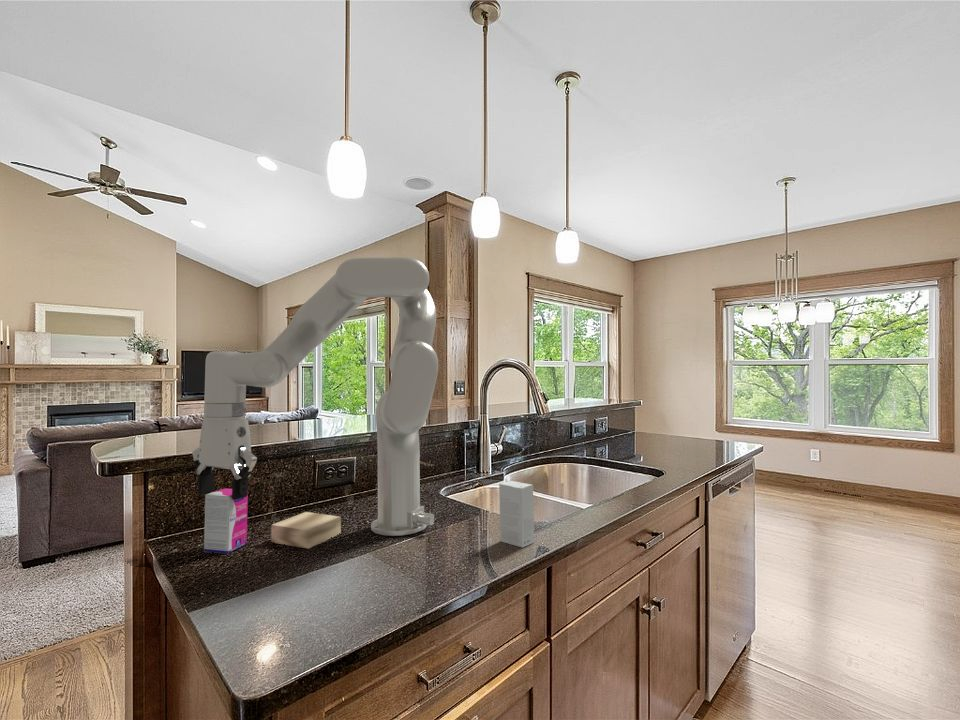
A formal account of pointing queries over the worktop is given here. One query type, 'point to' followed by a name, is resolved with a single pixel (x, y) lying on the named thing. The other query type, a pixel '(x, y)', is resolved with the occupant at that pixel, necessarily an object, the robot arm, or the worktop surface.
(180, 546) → the worktop surface
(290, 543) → the oak block
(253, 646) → the worktop surface
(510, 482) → the skincare box
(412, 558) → the worktop surface
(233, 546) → the supplement box
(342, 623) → the worktop surface
